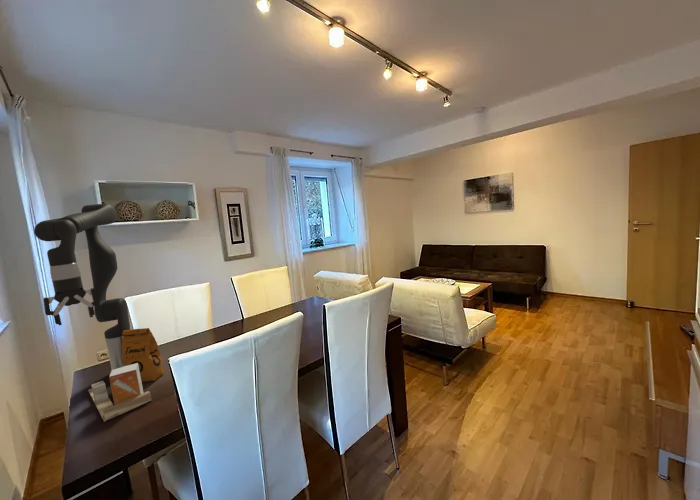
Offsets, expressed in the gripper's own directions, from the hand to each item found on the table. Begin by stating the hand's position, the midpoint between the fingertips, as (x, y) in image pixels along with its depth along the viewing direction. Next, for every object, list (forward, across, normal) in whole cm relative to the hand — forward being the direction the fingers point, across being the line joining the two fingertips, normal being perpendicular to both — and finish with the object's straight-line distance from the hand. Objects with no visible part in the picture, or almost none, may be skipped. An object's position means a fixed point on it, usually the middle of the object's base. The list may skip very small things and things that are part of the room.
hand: (76, 320), depth 111 cm
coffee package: (+32, -18, -3) cm, 37 cm away
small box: (+32, -9, +12) cm, 36 cm away
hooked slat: (+32, -7, +3) cm, 33 cm away
